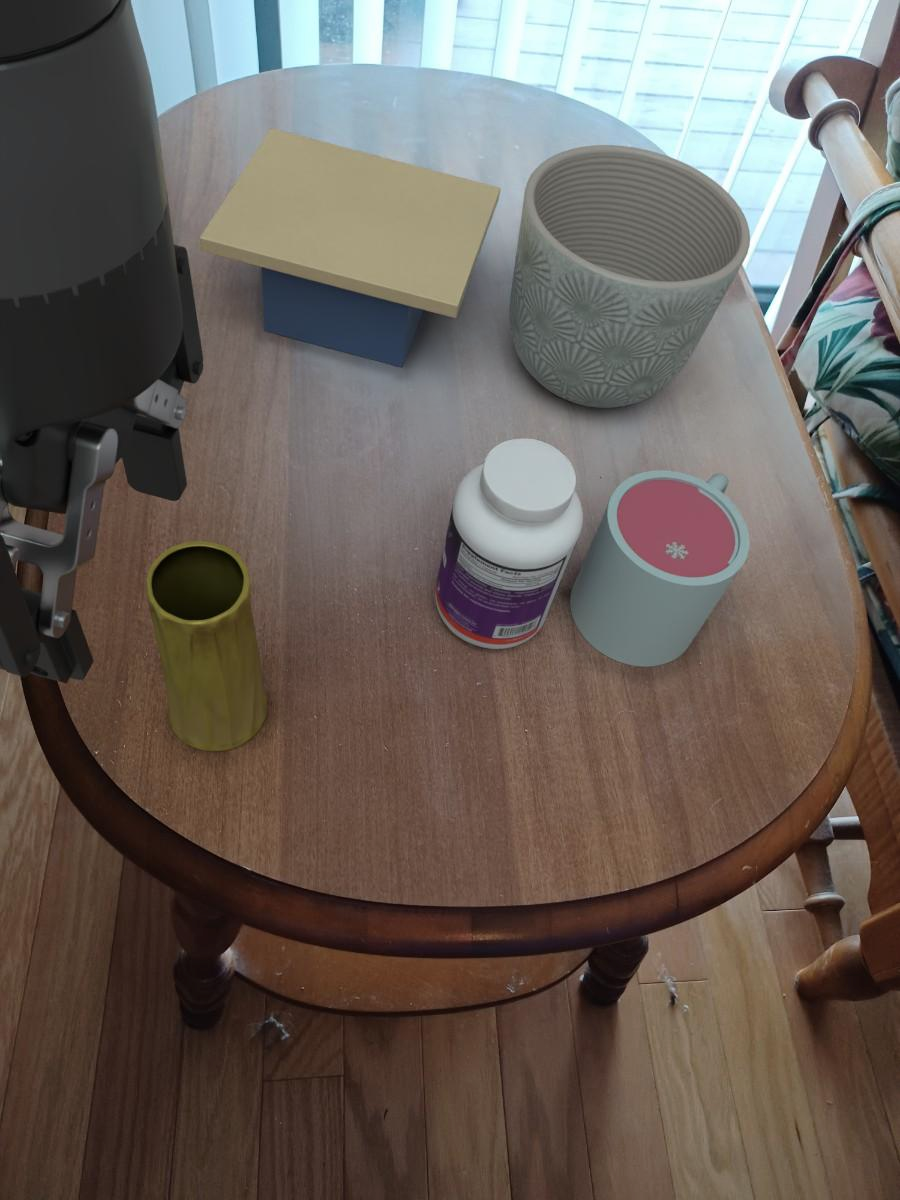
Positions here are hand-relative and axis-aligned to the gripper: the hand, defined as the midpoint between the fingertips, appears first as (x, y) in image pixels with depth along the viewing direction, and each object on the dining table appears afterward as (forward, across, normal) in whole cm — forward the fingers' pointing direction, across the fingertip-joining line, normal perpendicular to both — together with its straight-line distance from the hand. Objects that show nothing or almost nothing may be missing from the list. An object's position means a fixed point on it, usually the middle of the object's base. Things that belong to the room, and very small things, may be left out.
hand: (113, 572), depth 36 cm
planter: (+25, -47, +18) cm, 56 cm away
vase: (+25, -7, 0) cm, 26 cm away
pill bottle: (+25, -20, +15) cm, 35 cm away
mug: (+25, -25, +26) cm, 43 cm away
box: (+24, -47, -3) cm, 53 cm away
